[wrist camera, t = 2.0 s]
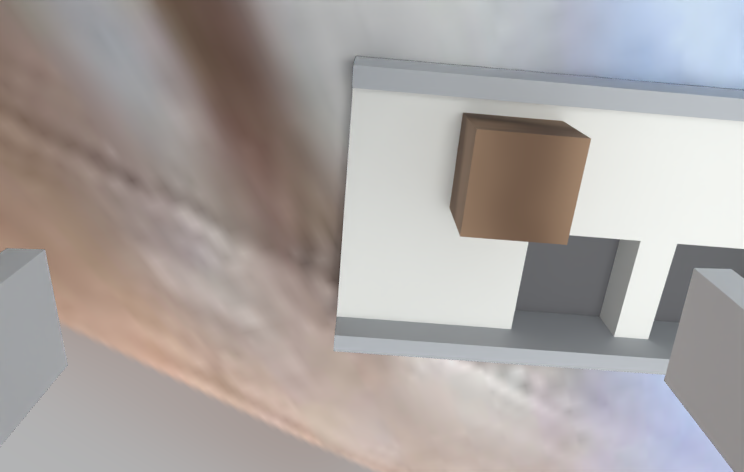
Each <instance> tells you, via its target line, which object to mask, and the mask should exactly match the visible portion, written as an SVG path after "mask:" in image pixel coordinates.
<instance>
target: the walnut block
mask: <svg viewBox="0 0 744 472" xmlns="http://www.w3.org/2000/svg"><path fill="white" fill-rule="evenodd" d="M590 142H591V138H589V137H588V136H586V135H585V134H583V133H581V132H580V131H578V130H577V129H575V128H573V127H572V126H570V125H569V124H567V123H565V122H564V121H558V120H546V119H534V118H523V117H511V116H499V115H487V114H476V113H464V112H463V116H462V123H461V130H460V137H459V144H458V151H457V158H456V165H455V172H454V179H453V186H452V193H451V201H450V211H451V213H452V216H453V219H454V221H455V224H456V227H457V229H458V232H459V235H460V237H472V238H485V239H497V240H510V241H523V242H536V243H549V244H561V245H567V243H568V238H569V234H570V230H571V225H572V221H573V216H574V212H575V208H576V203H577V199H578V195H579V190H580V186H581V181H582V177H583V173H584V168H585V164H586V159H587V155H588V151H589V146H590Z"/></svg>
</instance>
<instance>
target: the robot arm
mask: <svg viewBox="0 0 744 472" xmlns="http://www.w3.org/2000/svg"><path fill="white" fill-rule="evenodd" d="M67 366H68V363H67V358H66V353H65V348H64V343H63V338H62V333H61V328H60V323H59V318H58V313H57V307H56V302H55V297H54V292H53V287H52V282H51V277H50V272H49V267H48V262H47V257H46V252H45V249H11V248H6V249H5V250H3V251H2V252H1V253H0V446H1V445H2V444H3V443H4V442H5V440H6V439H7V438H8V437H9V436H10V434H11V433H12V432H13V431H14V430H15V428H16V427H17V426H18V425H19V424H20V422H21V421H22V420H23V419H24V417H25V416H26V415H27V414H28V413H29V412H30V410H31V409H32V408H33V406H34V405H35V404H36V403H37V402H38V401H39V399H40V398H41V397H42V396H43V395H44V393H45V392H46V391H47V390H48V388H49V387H50V386H51V385H52V384H53V382H54V381H55V380H56V379H57V378H58V376H59V375H60V374H61V373H62V372H63V370H64V369H65V368H66V367H67ZM664 381H665V382H666V384H667V385H668V386H669V388H670V389H671V390H672V392H673V393H674V394H675V395H676V397H677V398H678V399H679V401H680V402H681V403H682V405H683V406H684V407H685V409H686V410H687V411H688V412H689V414H690V415H691V416H692V418H693V419H694V420H695V422H696V423H697V424H698V425H699V427H700V428H701V429H702V431H703V432H704V433H705V435H706V436H707V437H708V438H709V440H710V441H711V442H712V444H713V445H714V446H715V448H716V449H717V450H718V452H719V453H720V454H721V455H722V457H723V458H724V459H725V461H726V462H727V463H728V465H729V466H730V467H731V468H732V470H733V471H734V472H744V278H743V277H741V276H740V275H739V274H737V273H736V272H735V271H733V270H732V269H713V268H694V270H693V274H692V278H691V281H690V285H689V289H688V292H687V296H686V300H685V304H684V307H683V311H682V315H681V319H680V322H679V326H678V330H677V334H676V337H675V341H674V345H673V349H672V352H671V356H670V360H669V364H668V367H667V371H666V375H665V379H664Z"/></svg>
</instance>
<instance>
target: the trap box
mask: <svg viewBox="0 0 744 472" xmlns="http://www.w3.org/2000/svg"><path fill="white" fill-rule="evenodd" d="M352 88H353V92H352V106H351V121H350V135H349V149H348V163H347V178H346V192H345V206H344V220H343V235H342V249H341V263H340V277H339V292H338V306H337V319H336V328H335V338H334V351H339V352H353V353H367V354H381V355H395V356H409V357H423V358H437V359H451V360H465V361H479V362H493V363H507V364H521V365H535V366H549V367H563V368H577V369H591V370H605V371H619V372H633V373H647V374H661V375H666V371H667V367H668V364H669V360H670V356H671V352H672V349H673V345H674V341H675V337H676V334H677V330H678V326H679V322H680V319H681V315H682V311H683V307H684V304H685V300H686V296H687V292H688V289H689V285H690V281H691V278H692V274H693V270H694V268H713V269H732V270H733V271H735V272H736V273H737V274H739V275H740V276H741V277H743V278H744V90H738V89H727V88H715V87H704V86H692V85H681V84H670V83H658V82H647V81H635V80H624V79H612V78H601V77H590V76H578V75H567V74H555V73H544V72H533V71H521V70H510V69H498V68H487V67H476V66H464V65H453V64H441V63H430V62H419V61H407V60H396V59H384V58H373V57H362V56H356V58H355V61H354V65H353V79H352ZM463 112H464V113H476V114H487V115H499V116H511V117H523V118H534V119H546V120H558V121H564V122H565V123H567V124H569V125H570V126H572V127H573V128H575V129H577V130H578V131H580V132H581V133H583V134H585V135H586V136H588V137H589V138H591V142H590V146H589V151H588V155H587V159H586V164H585V168H584V173H583V177H582V181H581V186H580V190H579V195H578V199H577V203H576V208H575V212H574V216H573V221H572V225H571V230H570V234H569V238H568V243H567V245H561V244H549V243H536V242H523V241H510V240H497V239H485V238H472V237H460V235H459V232H458V229H457V227H456V224H455V221H454V219H453V216H452V213H451V211H450V201H451V193H452V186H453V179H454V172H455V165H456V158H457V151H458V144H459V137H460V130H461V123H462V116H463Z"/></svg>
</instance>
